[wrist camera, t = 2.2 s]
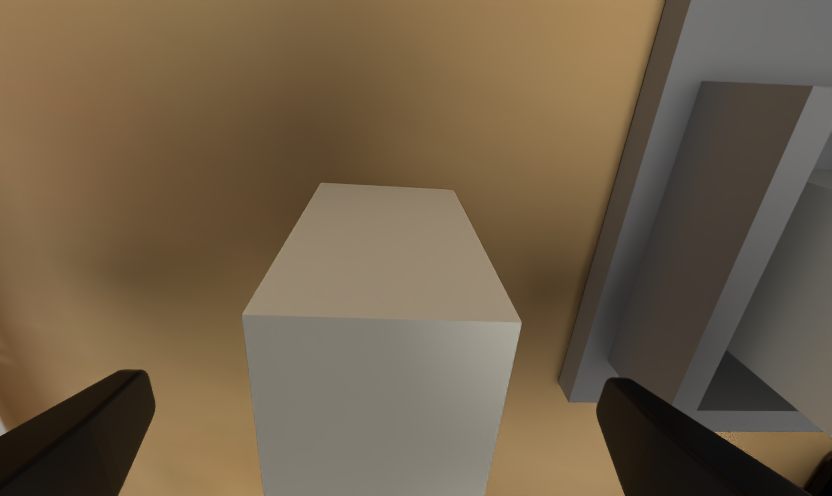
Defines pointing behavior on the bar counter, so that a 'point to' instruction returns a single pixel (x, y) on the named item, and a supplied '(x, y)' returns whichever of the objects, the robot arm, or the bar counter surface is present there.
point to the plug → (379, 349)
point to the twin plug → (795, 309)
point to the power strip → (706, 207)
